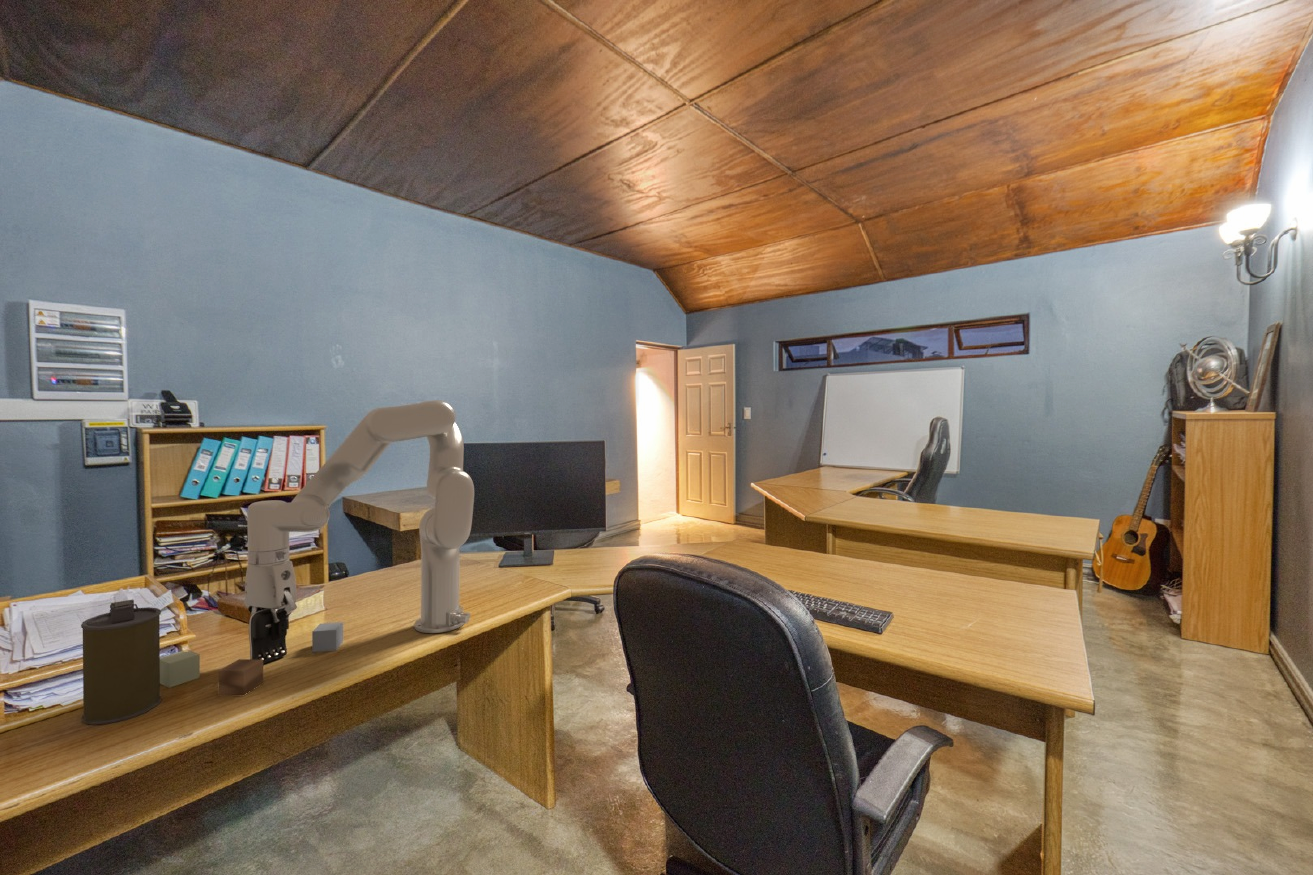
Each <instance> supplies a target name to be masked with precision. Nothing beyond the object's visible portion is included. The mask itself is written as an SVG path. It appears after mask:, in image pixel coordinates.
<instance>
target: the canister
mask: <svg viewBox="0 0 1313 875" xmlns="http://www.w3.org/2000/svg"><path fill="white" fill-rule="evenodd" d="M109 608H110V609H109V612H106V613H102V614H99V615H96V616H93V617H90V618H88V619H86V620H83V622H82V623H81V624H80V628H81V629H82V696H83V699H82V701H83V702H82V704H83V706H82V707H83V708H82V709H83V715H82V716H81V721H82V722H83V723H84V724H86V725H92V726H95V725H96V726H97V725H108V724H113V723H118V722H122V721H126V720H129V719H132V718H135V717H138V716H141V715H143V714H144V713H147V712H148V711H151V710H153V709H154V708H155V707H157V706H158V705H159V704H160V703H161V701H162V696H161V692H160V691H161V684H160V658H161V657H160V655H161V654H160V653H161V652H160V651H161V650H160V649H161V648H160V646H161V645H160V641H161V640H160V636H161V635H160V634H161V633H160V631H161V630H160V628H161V627H160V626H161V625H160V623H161V622H160V615H162V614H161V613H162V611H161V609H159V608H157V607H150V606H149V607H146V606H145V607H138V604H137V603H135V600H134V599H133V598H132V599H128V600H127V599H126V600H123V601H122V600H121V601H115V602H110V605H109Z"/></svg>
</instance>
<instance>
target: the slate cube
mask: <svg viewBox="0 0 1313 875" xmlns="http://www.w3.org/2000/svg"><path fill="white" fill-rule="evenodd" d="M311 634H312V638H311V639H312V640H311V644H312V645H311V646H312V648H311V650H312V653H319V652H333V651H335V652H336V651H337V650H338V649H339V648H340V647H341V645H342V644H343V643H344V622H342V621H340V622H327V623H323V622H322V623H319V624H318V625H317V626H316V627H315V628H314V629H313V630H312V632H311Z"/></svg>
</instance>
